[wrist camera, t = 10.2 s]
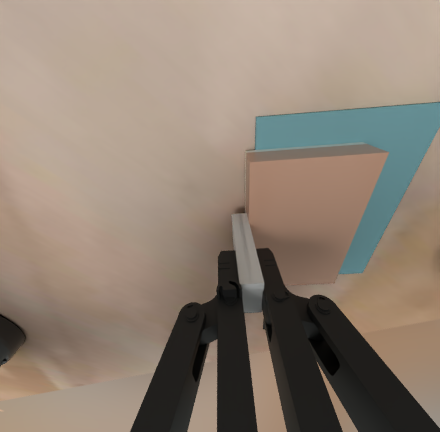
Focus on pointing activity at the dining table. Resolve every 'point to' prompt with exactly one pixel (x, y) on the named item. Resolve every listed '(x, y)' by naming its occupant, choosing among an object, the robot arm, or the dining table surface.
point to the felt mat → (370, 134)
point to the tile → (309, 204)
